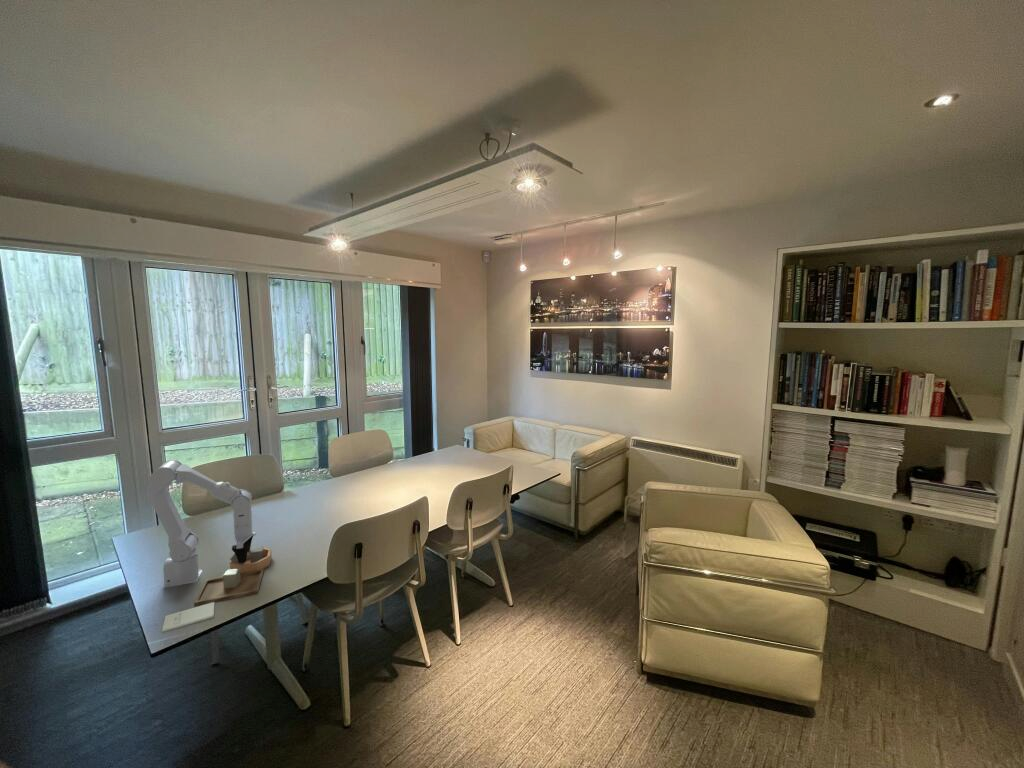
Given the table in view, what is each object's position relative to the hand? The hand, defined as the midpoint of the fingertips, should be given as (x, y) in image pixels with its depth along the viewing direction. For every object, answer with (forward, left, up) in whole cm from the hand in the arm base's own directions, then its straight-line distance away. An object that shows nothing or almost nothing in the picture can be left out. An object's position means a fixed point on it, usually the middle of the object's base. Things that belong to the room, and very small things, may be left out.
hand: (244, 557), depth 154 cm
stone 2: (-2, -11, -4) cm, 12 cm away
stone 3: (+4, +3, -4) cm, 6 cm away
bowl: (+2, +2, -5) cm, 5 cm away
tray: (-2, -12, -5) cm, 13 cm away
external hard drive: (-10, -25, -6) cm, 28 cm away
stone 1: (0, 0, -1) cm, 1 cm away
